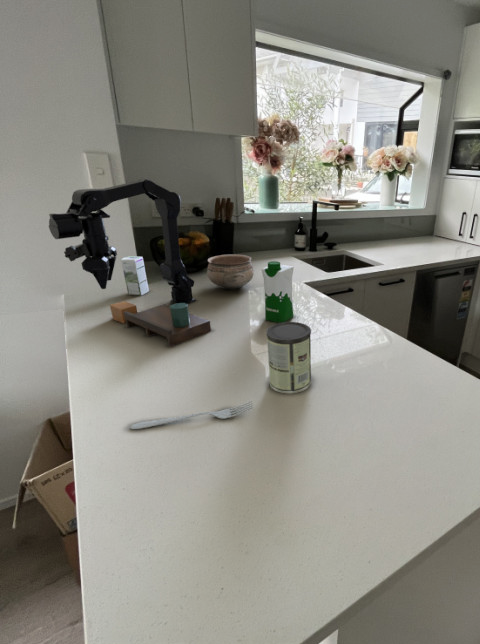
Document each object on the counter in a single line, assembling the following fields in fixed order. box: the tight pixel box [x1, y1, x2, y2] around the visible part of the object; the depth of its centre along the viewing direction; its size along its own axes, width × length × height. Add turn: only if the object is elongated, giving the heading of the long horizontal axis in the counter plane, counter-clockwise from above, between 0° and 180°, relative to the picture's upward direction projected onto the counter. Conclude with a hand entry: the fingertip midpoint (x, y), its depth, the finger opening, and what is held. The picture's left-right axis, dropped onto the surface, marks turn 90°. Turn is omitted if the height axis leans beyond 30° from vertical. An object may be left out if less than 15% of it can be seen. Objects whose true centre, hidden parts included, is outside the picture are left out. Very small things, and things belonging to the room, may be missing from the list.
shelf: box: [124, 303, 212, 347], centre depth 119 cm, size 14×24×5 cm, turn 56°
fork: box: [129, 400, 254, 430], centre depth 78 cm, size 3×24×2 cm, turn 105°
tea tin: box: [169, 303, 190, 327], centre depth 114 cm, size 5×5×6 cm
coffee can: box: [265, 321, 312, 395], centre depth 90 cm, size 10×10×14 cm
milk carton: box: [261, 260, 294, 324], centre depth 126 cm, size 9×9×20 cm
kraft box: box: [109, 300, 138, 325], centre depth 125 cm, size 5×7×5 cm
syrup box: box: [120, 255, 150, 296], centre depth 148 cm, size 6×6×14 cm
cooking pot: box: [206, 253, 255, 291], centre depth 158 cm, size 25×19×12 cm
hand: (106, 284), depth 118 cm, fingers open, 9 cm apart
